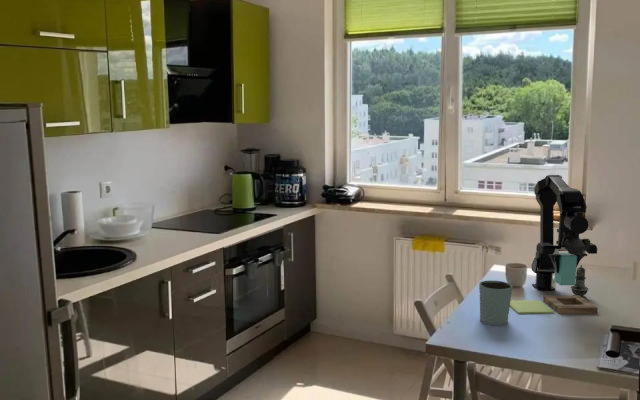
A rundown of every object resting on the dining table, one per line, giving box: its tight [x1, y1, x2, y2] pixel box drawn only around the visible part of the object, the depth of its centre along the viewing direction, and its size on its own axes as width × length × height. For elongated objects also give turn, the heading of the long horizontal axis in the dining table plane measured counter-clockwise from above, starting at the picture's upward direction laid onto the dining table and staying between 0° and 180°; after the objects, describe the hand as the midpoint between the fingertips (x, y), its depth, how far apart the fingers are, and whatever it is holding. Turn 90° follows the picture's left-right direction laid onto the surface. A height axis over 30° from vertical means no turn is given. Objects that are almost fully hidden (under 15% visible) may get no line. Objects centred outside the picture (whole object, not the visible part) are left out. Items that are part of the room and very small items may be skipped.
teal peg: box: [553, 252, 577, 286], centre depth 213 cm, size 5×5×10 cm
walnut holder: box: [542, 294, 599, 315], centre depth 216 cm, size 13×13×2 cm
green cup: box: [478, 279, 513, 327], centre depth 201 cm, size 10×10×12 cm
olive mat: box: [510, 299, 555, 315], centre depth 215 cm, size 12×12×1 cm
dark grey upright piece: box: [570, 264, 589, 300], centre depth 225 cm, size 6×6×12 cm
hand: (565, 273), depth 214 cm, fingers closed on teal peg, 5 cm apart
